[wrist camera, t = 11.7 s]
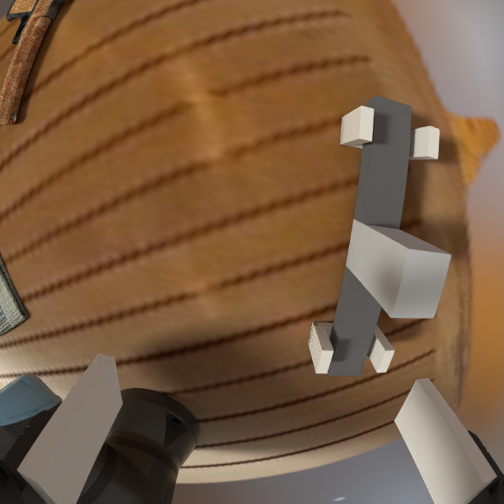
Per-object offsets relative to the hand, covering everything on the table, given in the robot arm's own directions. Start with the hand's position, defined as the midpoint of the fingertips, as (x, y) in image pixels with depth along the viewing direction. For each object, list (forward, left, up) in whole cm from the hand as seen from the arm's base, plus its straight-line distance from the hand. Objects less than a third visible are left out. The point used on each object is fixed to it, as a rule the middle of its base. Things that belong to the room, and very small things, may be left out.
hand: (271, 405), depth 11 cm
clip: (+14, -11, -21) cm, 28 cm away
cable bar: (+3, -11, -20) cm, 23 cm away
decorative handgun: (+30, +40, -22) cm, 55 cm away
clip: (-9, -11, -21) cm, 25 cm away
